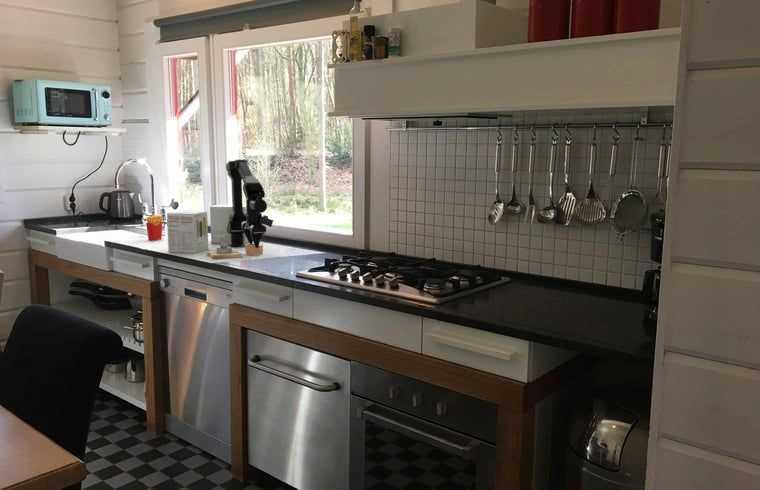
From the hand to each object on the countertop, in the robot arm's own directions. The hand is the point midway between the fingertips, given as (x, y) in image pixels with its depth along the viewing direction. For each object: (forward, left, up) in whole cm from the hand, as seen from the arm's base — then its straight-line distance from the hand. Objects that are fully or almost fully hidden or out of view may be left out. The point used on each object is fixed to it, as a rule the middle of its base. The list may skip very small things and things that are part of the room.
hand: (253, 246), depth 278 cm
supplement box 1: (-21, -24, -4) cm, 32 cm away
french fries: (-61, -33, -4) cm, 69 cm away
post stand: (0, -13, -3) cm, 13 cm away
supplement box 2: (-39, 0, -4) cm, 39 cm away
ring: (0, 0, -3) cm, 3 cm away
